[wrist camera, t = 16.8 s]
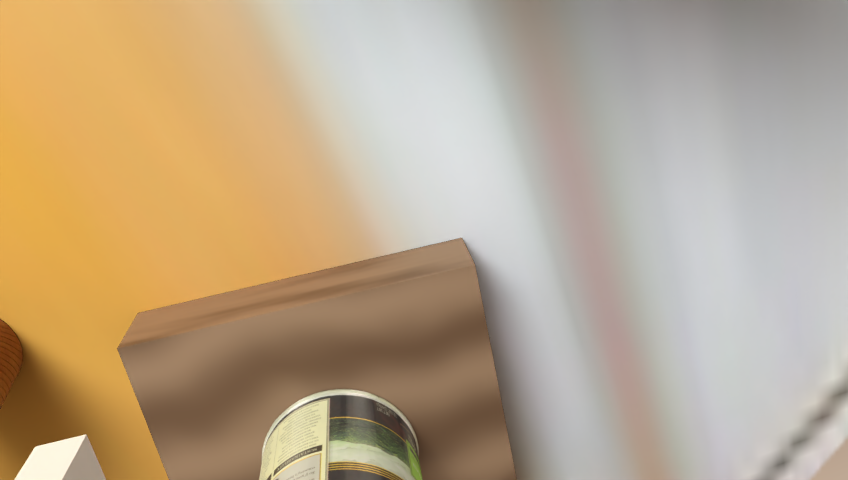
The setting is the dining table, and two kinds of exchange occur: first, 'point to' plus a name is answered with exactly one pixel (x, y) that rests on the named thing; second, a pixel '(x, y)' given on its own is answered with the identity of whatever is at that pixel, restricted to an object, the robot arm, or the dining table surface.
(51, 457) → the robot arm
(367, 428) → the coffee can
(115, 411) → the dining table surface
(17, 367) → the disposable coffee cup
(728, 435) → the dining table surface
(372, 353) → the walnut plinth
